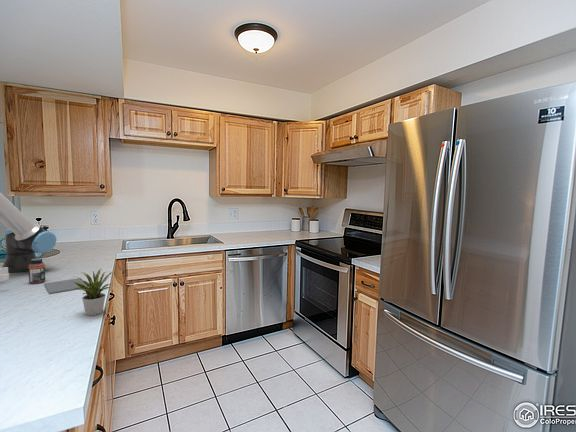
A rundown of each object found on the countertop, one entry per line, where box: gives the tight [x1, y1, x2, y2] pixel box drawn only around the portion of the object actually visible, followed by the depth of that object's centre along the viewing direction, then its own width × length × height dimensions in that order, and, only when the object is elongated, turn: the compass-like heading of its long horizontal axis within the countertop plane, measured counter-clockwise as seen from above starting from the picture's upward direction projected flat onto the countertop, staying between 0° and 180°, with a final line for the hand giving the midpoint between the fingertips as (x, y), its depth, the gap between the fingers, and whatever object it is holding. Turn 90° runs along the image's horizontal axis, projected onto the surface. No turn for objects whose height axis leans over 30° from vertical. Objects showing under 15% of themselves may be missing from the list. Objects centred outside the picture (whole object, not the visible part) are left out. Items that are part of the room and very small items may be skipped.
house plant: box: [72, 268, 119, 316], centre depth 107 cm, size 14×14×16 cm
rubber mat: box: [43, 277, 88, 295], centre depth 134 cm, size 17×14×1 cm
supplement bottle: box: [28, 257, 46, 285], centre depth 137 cm, size 6×6×11 cm
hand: (8, 273), depth 130 cm, fingers open, 13 cm apart
